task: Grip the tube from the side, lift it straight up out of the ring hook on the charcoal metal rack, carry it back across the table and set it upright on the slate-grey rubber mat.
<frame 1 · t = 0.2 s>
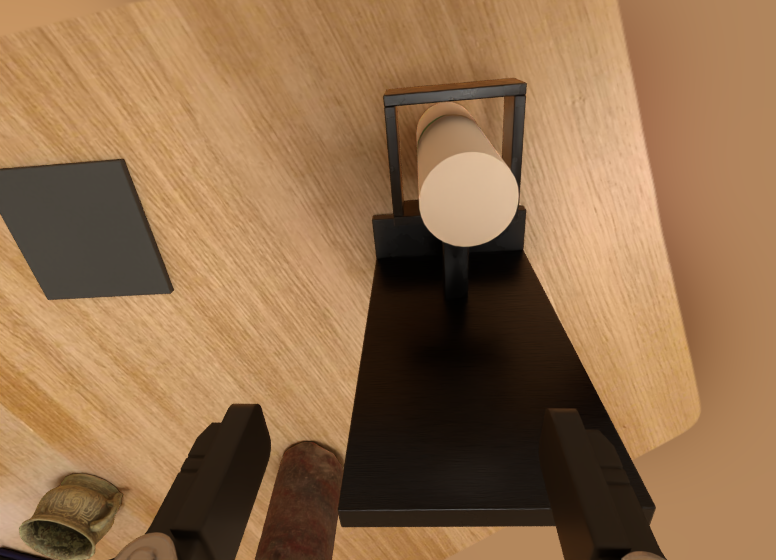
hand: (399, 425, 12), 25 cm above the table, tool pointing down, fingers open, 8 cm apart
vessel: (92, 490, 56), on the table
candle: (315, 460, 51), on the table
mat: (84, 234, 37), on the table
tube: (445, 132, 32), on the table
rack: (445, 133, 32), on the table
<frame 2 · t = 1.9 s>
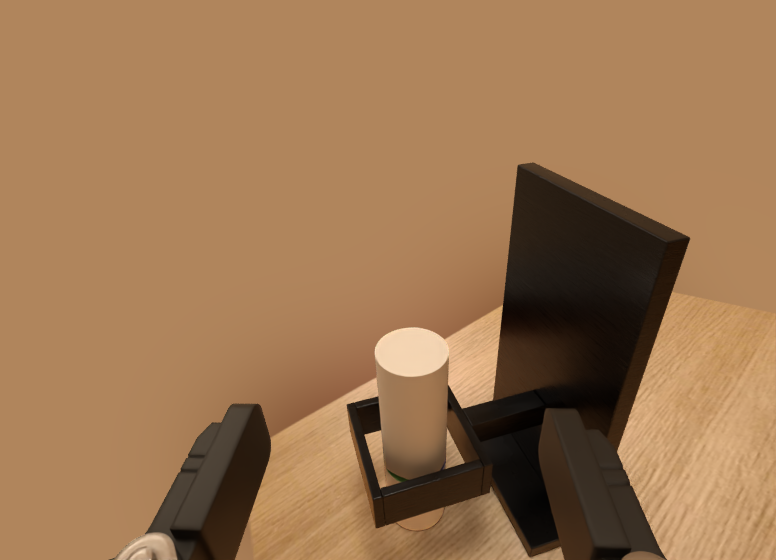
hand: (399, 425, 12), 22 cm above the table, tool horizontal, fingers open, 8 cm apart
tube: (416, 503, 33), on the table
rack: (416, 502, 33), on the table
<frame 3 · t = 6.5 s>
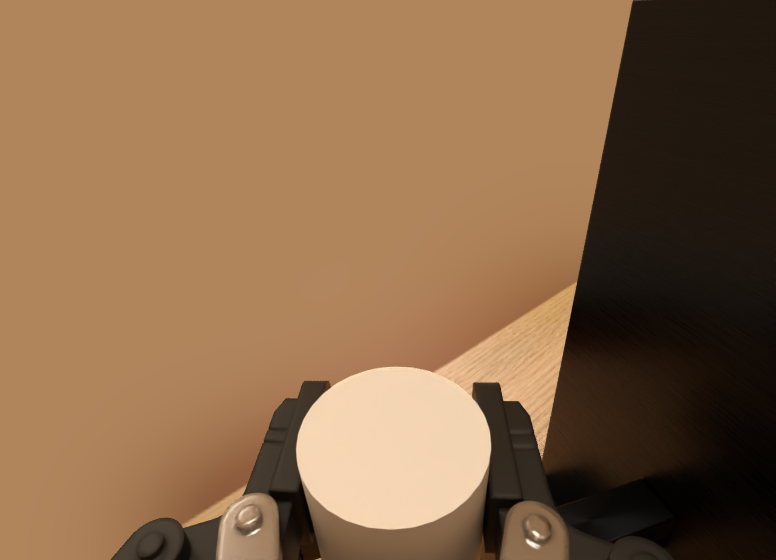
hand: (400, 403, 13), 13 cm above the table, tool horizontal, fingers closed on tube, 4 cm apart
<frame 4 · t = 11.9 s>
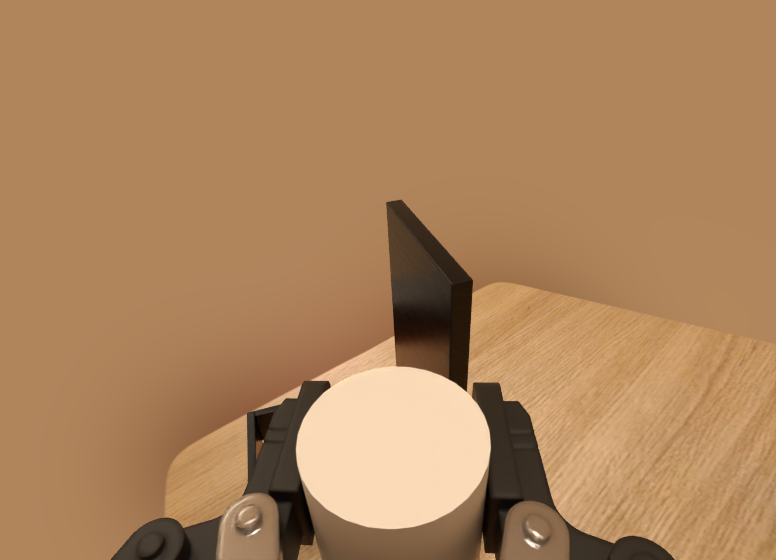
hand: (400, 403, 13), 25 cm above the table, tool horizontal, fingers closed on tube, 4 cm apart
rack: (314, 499, 37), on the table
when the fingers open (14 cm above the table, at t = 17.7 s): tube stays where it is, resting on mat.
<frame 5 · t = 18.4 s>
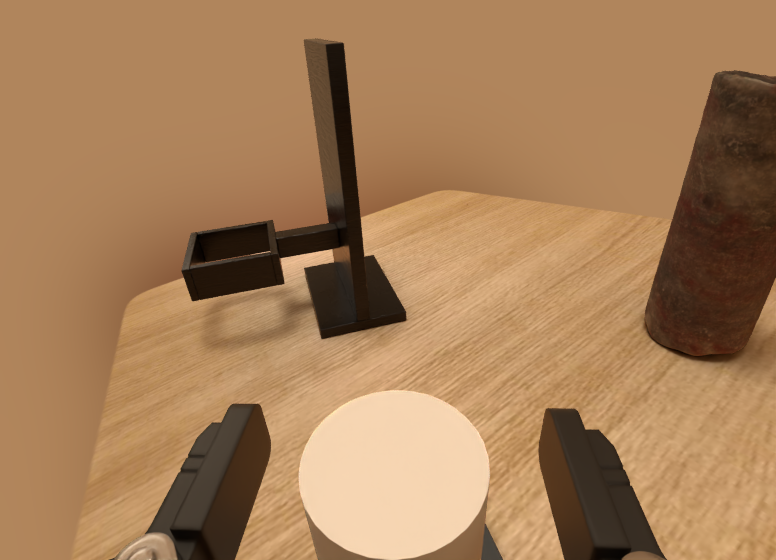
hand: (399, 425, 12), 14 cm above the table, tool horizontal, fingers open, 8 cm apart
candle: (689, 333, 37), on the table
rack: (251, 316, 43), on the table
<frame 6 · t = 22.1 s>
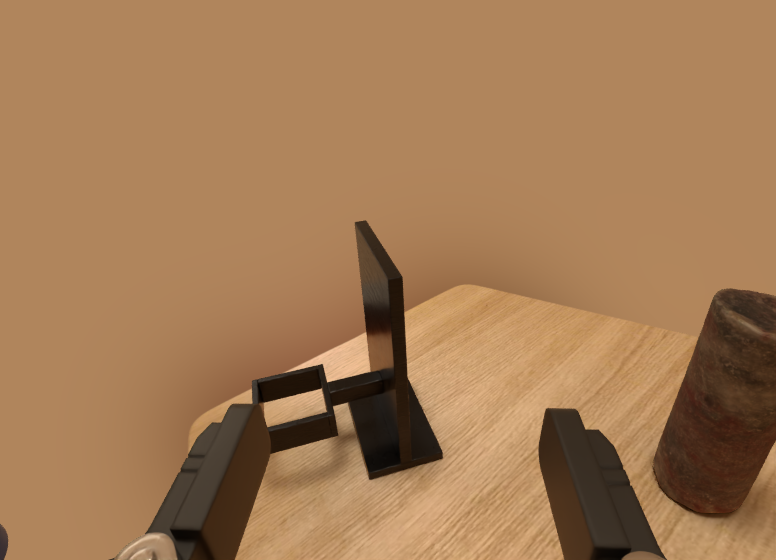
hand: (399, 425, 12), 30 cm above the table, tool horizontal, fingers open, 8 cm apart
candle: (693, 481, 42), on the table
rack: (303, 448, 48), on the table
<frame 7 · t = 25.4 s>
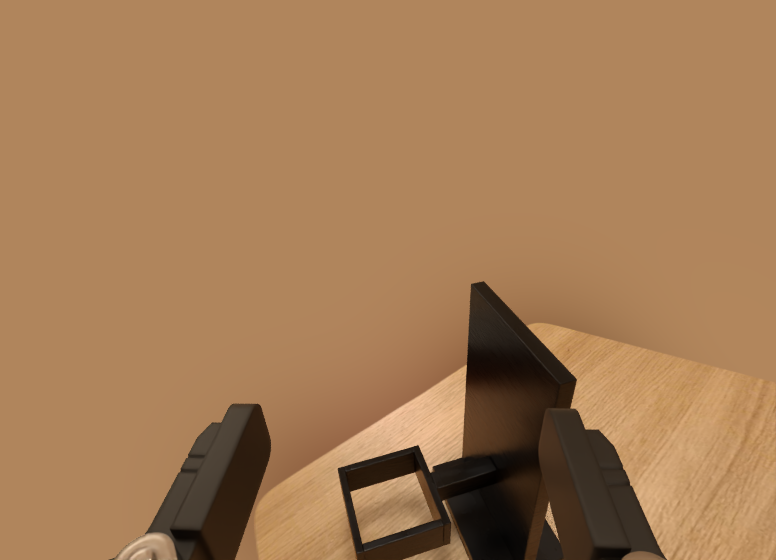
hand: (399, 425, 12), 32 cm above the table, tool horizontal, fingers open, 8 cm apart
rack: (395, 545, 40), on the table
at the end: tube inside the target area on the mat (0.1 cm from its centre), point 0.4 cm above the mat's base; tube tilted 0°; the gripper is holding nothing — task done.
